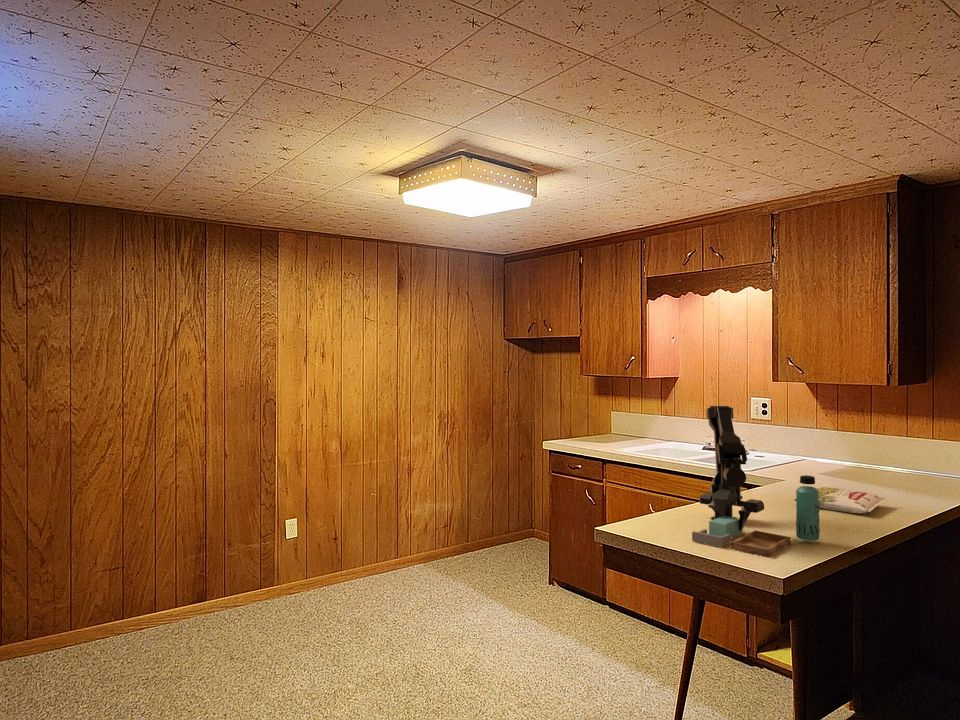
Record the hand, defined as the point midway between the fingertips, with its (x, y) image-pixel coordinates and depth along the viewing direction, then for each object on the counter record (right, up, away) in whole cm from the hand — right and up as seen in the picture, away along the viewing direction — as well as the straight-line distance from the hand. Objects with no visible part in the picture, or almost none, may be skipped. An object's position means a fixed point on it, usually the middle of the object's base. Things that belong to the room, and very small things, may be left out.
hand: (731, 529), depth 206 cm
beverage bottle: (+19, -1, -11) cm, 22 cm away
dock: (-9, -2, -9) cm, 13 cm away
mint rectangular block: (-3, -1, -3) cm, 4 cm away
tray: (+3, -1, -14) cm, 15 cm away
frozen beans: (+50, 0, +29) cm, 58 cm away
